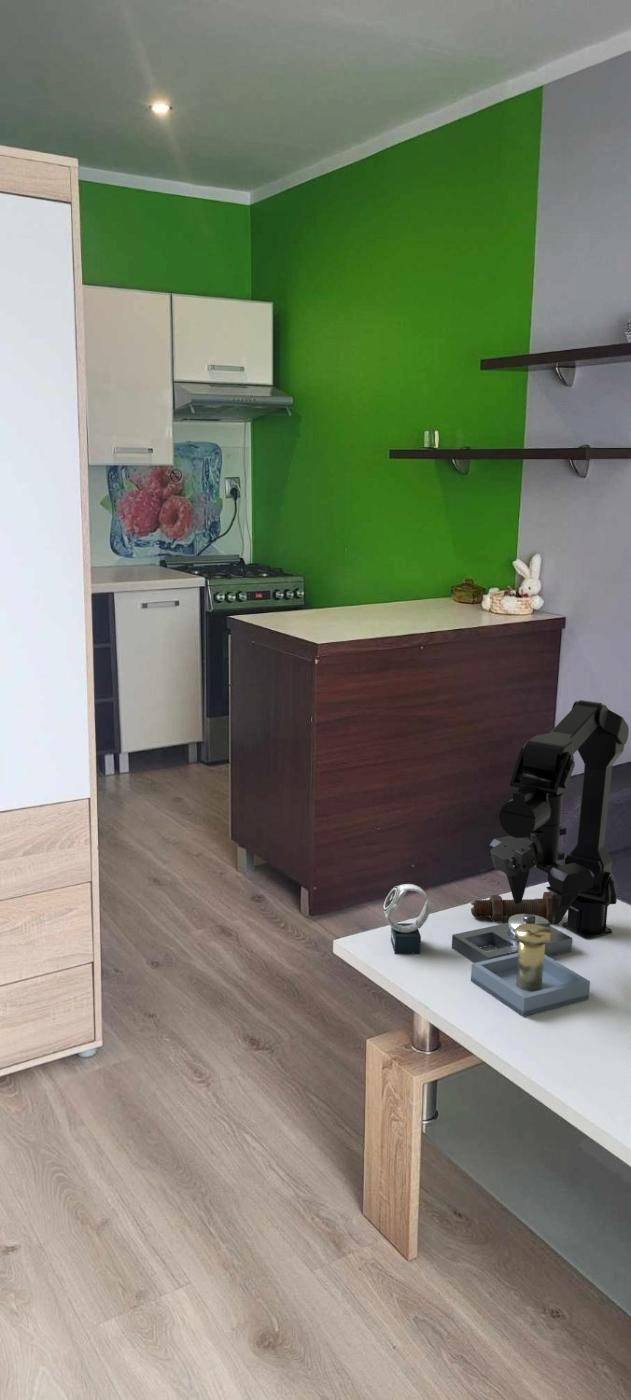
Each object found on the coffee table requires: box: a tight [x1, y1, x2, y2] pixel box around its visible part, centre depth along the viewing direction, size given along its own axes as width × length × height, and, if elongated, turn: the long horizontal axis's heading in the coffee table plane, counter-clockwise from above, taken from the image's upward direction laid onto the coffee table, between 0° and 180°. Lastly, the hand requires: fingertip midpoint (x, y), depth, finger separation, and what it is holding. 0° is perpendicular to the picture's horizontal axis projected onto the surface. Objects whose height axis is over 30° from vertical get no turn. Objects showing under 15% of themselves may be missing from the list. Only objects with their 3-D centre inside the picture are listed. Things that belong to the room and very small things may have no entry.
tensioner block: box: [451, 914, 573, 964], centre depth 182 cm, size 18×10×6 cm, turn 119°
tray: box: [470, 953, 591, 1017], centre depth 168 cm, size 13×13×3 cm
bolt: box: [470, 891, 553, 924], centre depth 196 cm, size 6×5×15 cm
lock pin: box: [515, 924, 551, 991], centre depth 167 cm, size 5×5×9 cm
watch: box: [382, 883, 431, 955], centre depth 182 cm, size 6×8×11 cm
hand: (536, 913), depth 169 cm, fingers open, 9 cm apart
